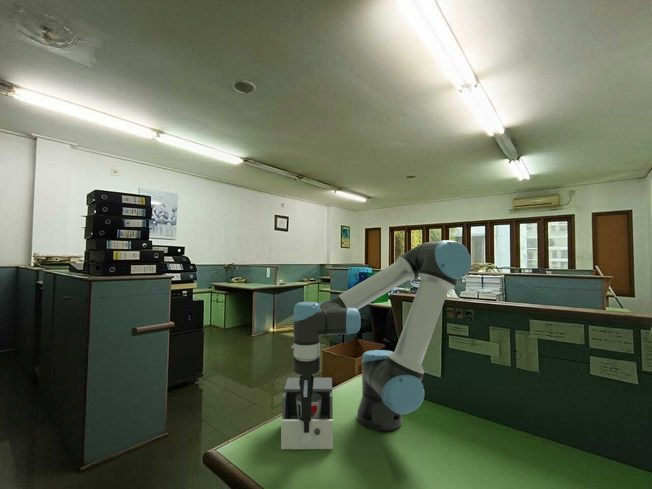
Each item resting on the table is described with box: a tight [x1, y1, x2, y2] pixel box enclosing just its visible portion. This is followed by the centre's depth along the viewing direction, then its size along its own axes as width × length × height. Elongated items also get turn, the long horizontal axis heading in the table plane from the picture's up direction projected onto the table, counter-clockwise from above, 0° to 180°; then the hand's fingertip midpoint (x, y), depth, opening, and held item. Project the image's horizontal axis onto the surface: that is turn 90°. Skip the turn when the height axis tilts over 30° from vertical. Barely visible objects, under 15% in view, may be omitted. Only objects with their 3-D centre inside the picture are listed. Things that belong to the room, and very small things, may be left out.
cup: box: [296, 392, 322, 419], centre depth 96 cm, size 8×8×10 cm
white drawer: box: [280, 415, 334, 450], centre depth 96 cm, size 14×15×8 cm
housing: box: [281, 377, 334, 420], centre depth 97 cm, size 14×15×15 cm
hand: (306, 441), depth 87 cm, fingers closed
